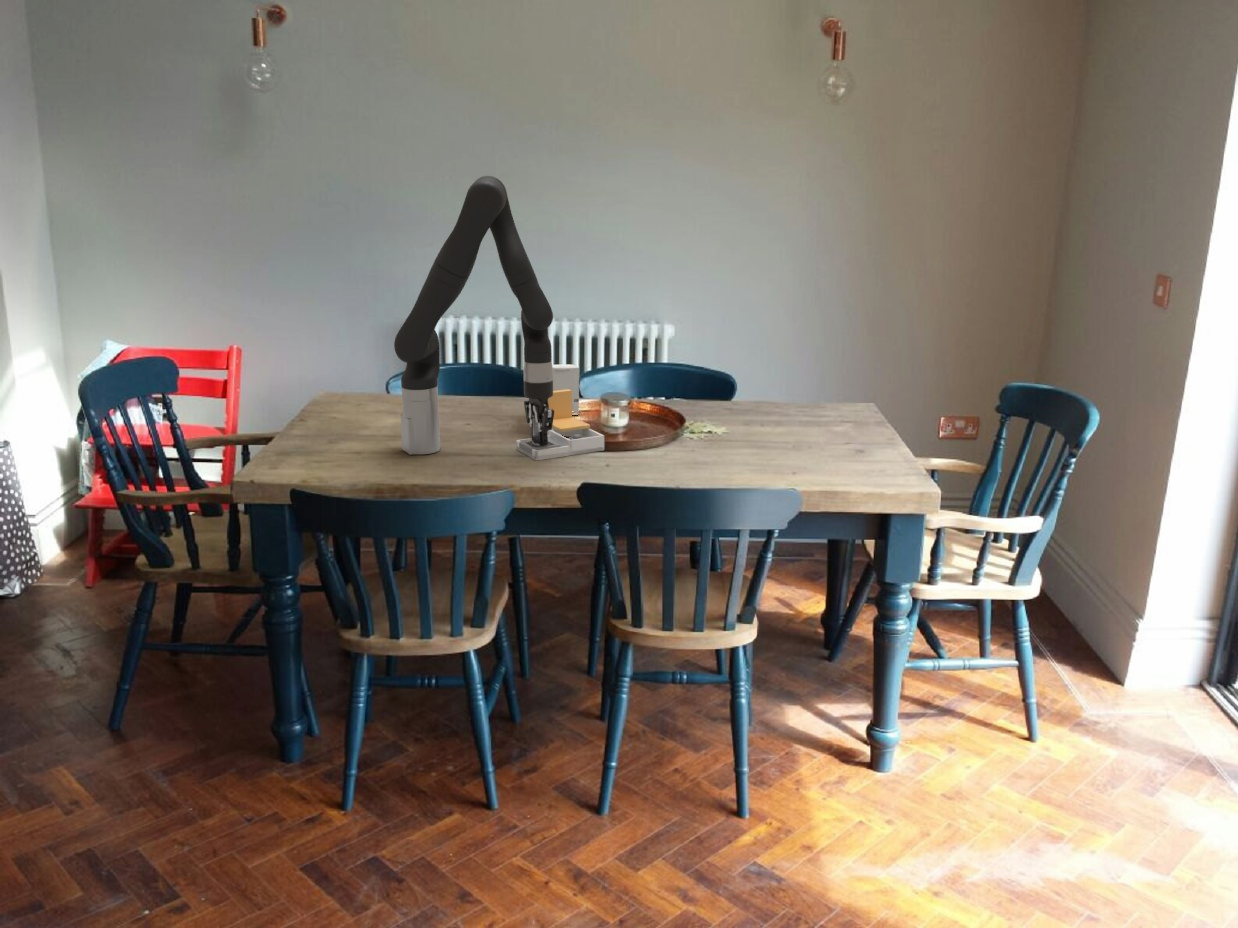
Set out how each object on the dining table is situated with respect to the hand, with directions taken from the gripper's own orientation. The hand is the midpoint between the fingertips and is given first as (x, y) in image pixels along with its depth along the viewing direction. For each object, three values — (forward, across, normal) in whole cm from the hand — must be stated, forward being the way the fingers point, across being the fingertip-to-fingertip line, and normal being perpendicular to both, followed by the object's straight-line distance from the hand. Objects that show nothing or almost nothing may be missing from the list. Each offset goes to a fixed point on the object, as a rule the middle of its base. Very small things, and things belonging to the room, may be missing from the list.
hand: (539, 442), depth 296 cm
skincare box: (+3, +34, -24) cm, 42 cm away
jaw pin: (+1, 0, 0) cm, 1 cm away
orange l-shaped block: (-1, +8, -12) cm, 14 cm away
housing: (+3, +4, -6) cm, 8 cm away
